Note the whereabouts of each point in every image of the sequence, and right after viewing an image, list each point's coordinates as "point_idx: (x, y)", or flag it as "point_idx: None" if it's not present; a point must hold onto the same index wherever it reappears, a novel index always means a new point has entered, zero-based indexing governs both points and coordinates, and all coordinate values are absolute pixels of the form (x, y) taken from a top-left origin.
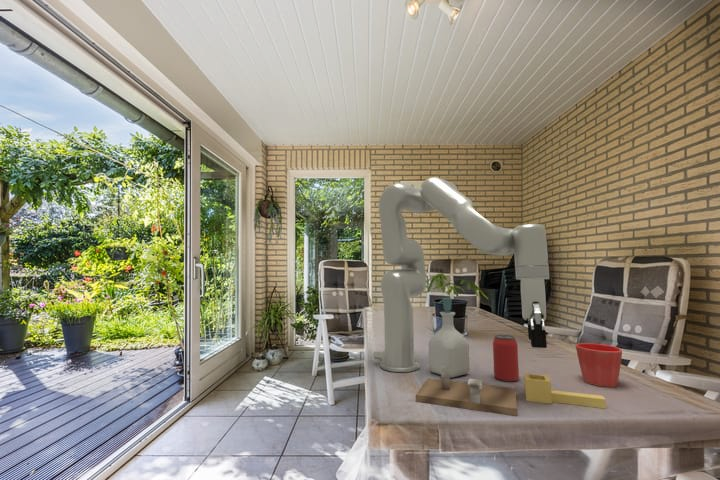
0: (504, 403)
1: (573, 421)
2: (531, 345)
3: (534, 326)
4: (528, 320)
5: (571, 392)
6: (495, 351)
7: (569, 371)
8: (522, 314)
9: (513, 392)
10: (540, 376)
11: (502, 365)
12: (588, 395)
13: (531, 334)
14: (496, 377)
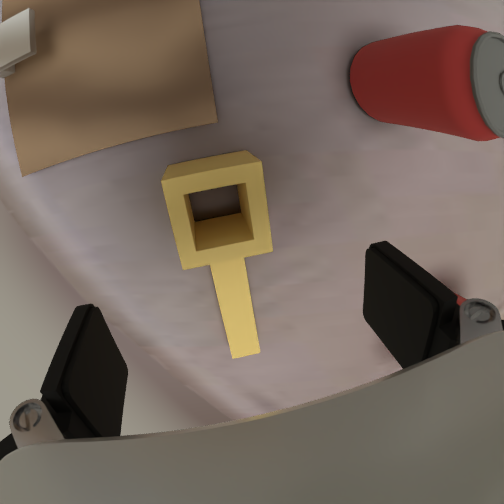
0: (38, 133)
1: (90, 292)
2: (75, 308)
3: (4, 441)
4: (463, 333)
5: (248, 293)
6: (423, 34)
7: (483, 250)
8: (351, 436)
9: (161, 126)
10: (251, 225)
11: (377, 65)
12: (244, 329)
13: (54, 366)
14: (361, 48)
